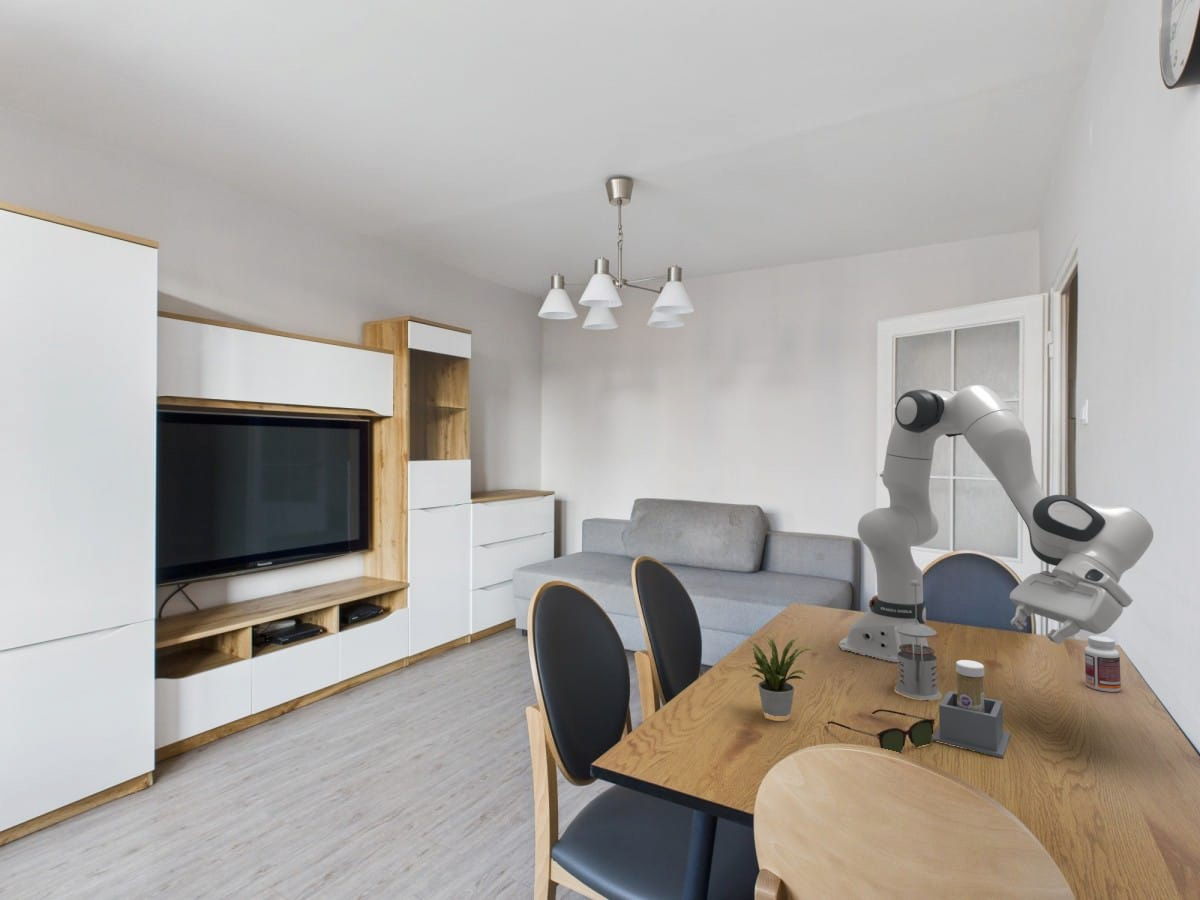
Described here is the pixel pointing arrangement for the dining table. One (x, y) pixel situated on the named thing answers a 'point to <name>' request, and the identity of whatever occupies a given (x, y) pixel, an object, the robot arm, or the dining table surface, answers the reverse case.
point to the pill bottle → (1102, 664)
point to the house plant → (776, 679)
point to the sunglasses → (902, 733)
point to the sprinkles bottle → (970, 685)
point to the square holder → (972, 726)
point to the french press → (917, 662)
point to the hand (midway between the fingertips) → (1033, 633)
